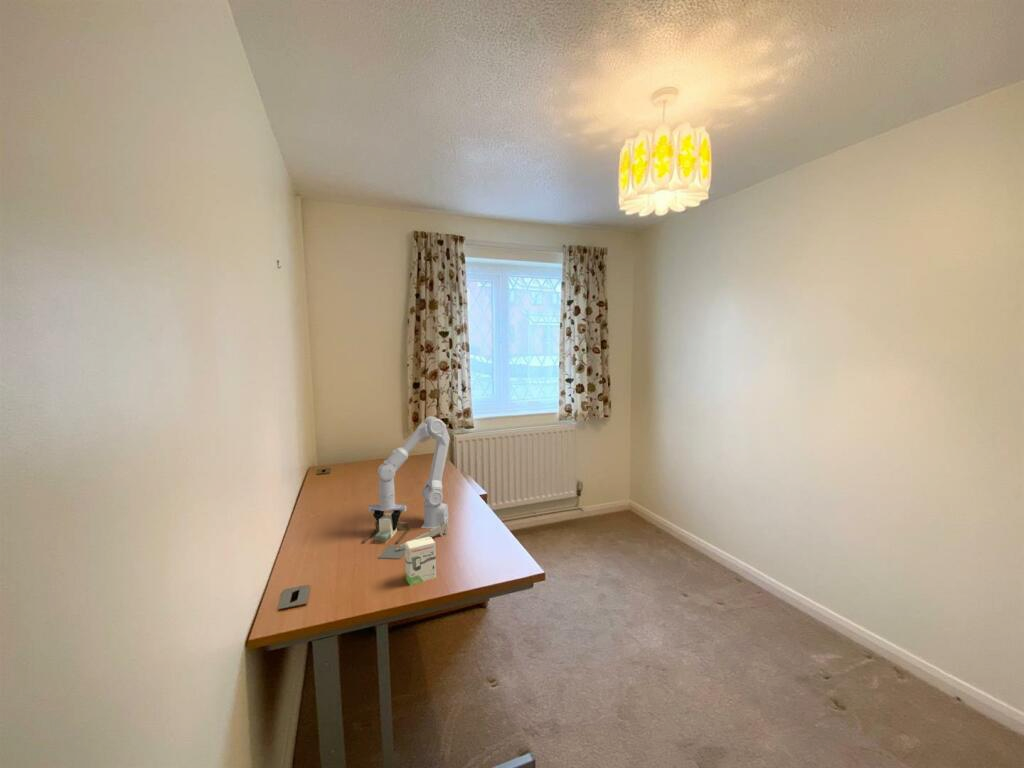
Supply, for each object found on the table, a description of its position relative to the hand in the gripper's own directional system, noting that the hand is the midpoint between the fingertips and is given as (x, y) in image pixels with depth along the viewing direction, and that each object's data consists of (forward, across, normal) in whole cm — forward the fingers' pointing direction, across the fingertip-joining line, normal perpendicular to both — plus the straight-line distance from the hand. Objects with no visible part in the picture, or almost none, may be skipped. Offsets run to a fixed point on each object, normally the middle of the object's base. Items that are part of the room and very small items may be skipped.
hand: (388, 529), depth 157 cm
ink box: (+3, -22, +29) cm, 37 cm away
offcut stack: (+3, 0, +6) cm, 6 cm away
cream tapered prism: (+3, 0, 0) cm, 3 cm away
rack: (+3, 0, +1) cm, 3 cm away
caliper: (+4, -15, +7) cm, 17 cm away
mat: (+3, -7, +14) cm, 16 cm away
